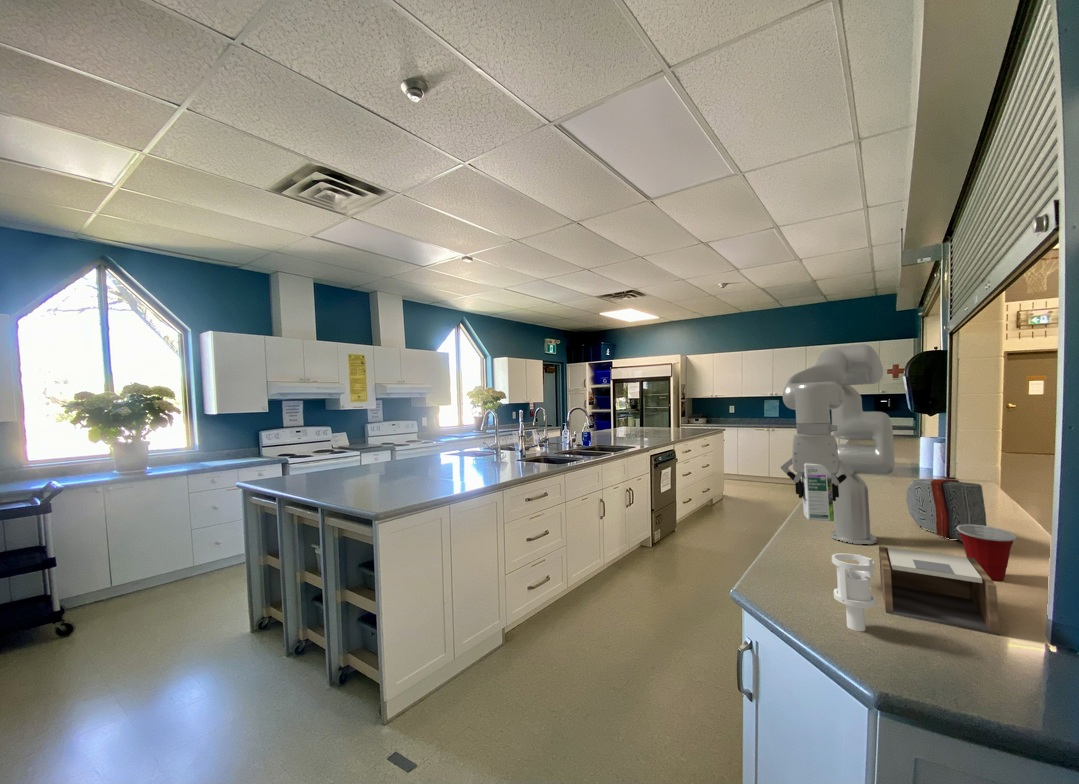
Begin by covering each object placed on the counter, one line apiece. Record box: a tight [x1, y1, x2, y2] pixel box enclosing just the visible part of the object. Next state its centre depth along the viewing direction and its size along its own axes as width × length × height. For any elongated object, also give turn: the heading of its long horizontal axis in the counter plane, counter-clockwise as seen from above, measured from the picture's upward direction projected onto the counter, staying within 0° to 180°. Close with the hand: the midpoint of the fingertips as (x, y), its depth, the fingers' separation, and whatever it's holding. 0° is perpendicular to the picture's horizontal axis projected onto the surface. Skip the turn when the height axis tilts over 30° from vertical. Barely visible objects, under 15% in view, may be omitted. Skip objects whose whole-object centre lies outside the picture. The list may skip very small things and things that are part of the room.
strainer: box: [831, 552, 877, 633], centre depth 88 cm, size 7×7×15 cm
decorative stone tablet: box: [906, 478, 988, 542], centre depth 144 cm, size 19×6×30 cm
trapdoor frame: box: [878, 545, 1000, 636], centre depth 96 cm, size 18×17×10 cm
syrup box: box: [801, 464, 835, 522], centre depth 111 cm, size 6×6×14 cm
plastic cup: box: [956, 525, 1017, 582], centre depth 110 cm, size 11×11×12 cm
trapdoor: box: [886, 546, 982, 583], centre depth 96 cm, size 14×14×1 cm
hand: (817, 497), depth 111 cm, fingers closed on syrup box, 6 cm apart
